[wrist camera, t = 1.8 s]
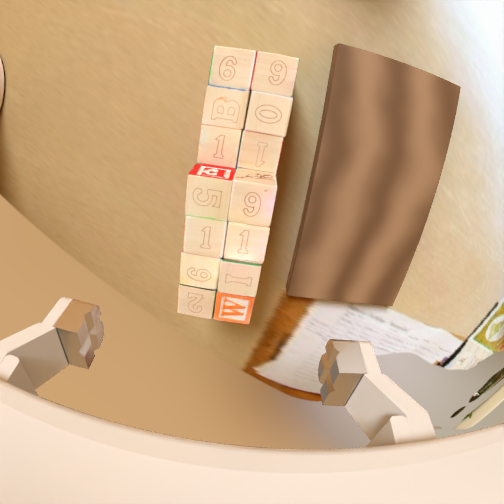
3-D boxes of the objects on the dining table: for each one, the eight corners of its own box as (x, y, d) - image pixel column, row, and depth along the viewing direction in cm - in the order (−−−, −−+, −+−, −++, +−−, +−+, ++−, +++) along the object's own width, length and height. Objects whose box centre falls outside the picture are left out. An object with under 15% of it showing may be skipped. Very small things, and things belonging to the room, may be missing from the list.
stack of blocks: (227, 56, 27) (207, 36, 16) (291, 67, 27) (309, 53, 16) (199, 246, 37) (175, 315, 26) (252, 255, 37) (249, 327, 27)
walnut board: (286, 285, 39) (287, 295, 37) (334, 45, 26) (338, 43, 24) (387, 296, 40) (392, 306, 38) (451, 86, 26) (460, 86, 24)
